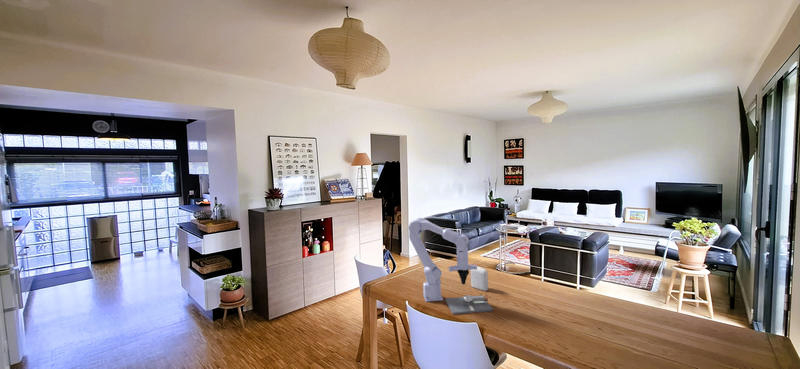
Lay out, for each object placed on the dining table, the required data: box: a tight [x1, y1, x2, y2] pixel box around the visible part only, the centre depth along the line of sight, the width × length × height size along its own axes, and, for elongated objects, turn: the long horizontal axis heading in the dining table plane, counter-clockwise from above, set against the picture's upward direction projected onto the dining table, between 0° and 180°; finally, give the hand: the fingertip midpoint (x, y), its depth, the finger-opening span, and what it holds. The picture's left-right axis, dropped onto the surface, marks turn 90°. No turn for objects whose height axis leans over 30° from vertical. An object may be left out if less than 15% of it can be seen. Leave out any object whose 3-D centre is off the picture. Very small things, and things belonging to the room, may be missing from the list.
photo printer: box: [470, 266, 489, 292], centre depth 181 cm, size 10×4×12 cm, turn 40°
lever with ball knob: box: [462, 294, 489, 303], centre depth 161 cm, size 13×5×2 cm, turn 90°
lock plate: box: [444, 295, 494, 315], centre depth 161 cm, size 20×16×2 cm
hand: (463, 283), depth 164 cm, fingers closed
